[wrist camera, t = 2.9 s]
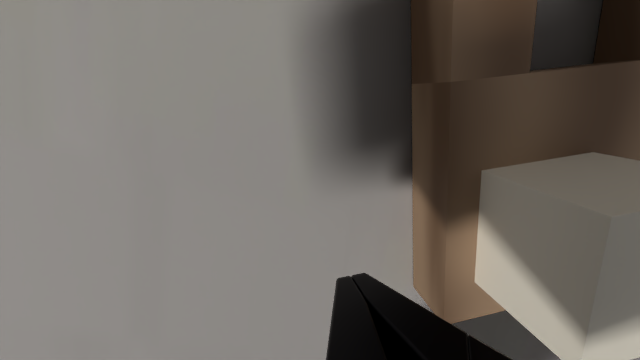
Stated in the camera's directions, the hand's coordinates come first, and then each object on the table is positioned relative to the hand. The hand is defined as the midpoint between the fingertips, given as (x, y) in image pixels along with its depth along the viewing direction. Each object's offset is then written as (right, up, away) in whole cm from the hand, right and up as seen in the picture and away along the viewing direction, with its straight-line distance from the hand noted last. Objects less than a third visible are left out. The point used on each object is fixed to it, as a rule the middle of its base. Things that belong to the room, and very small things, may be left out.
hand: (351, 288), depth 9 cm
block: (+7, +2, +3) cm, 8 cm away
